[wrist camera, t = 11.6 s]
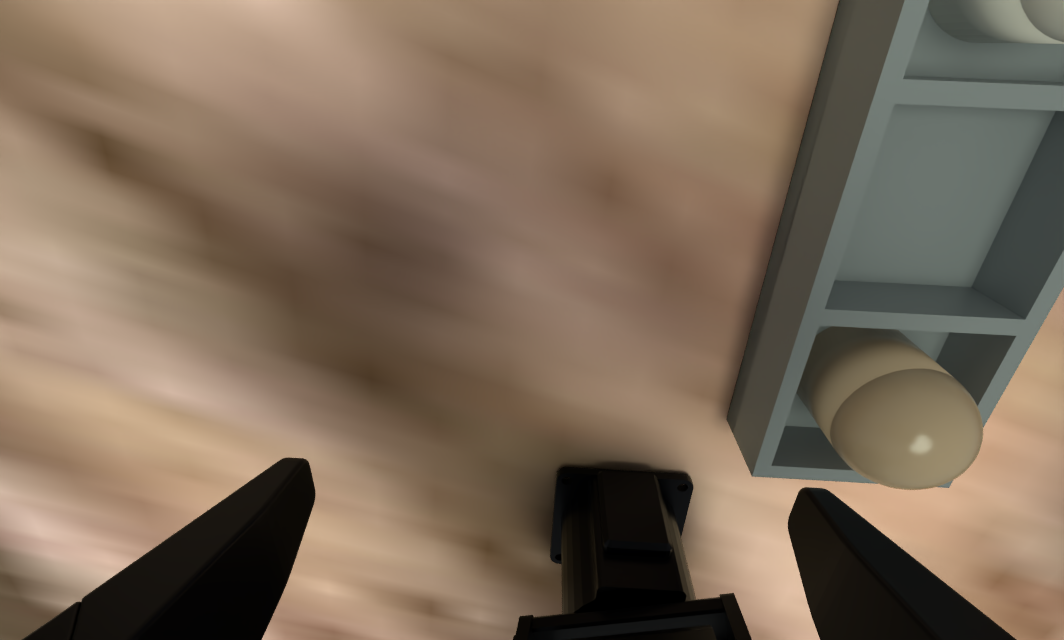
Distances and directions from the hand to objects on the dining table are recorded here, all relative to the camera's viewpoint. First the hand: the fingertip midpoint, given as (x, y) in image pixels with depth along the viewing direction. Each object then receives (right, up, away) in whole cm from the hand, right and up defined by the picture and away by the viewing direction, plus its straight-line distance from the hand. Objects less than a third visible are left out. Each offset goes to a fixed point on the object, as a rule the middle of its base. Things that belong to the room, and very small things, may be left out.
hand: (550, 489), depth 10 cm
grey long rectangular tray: (+13, +8, +9) cm, 17 cm away
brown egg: (+12, +1, +11) cm, 17 cm away
